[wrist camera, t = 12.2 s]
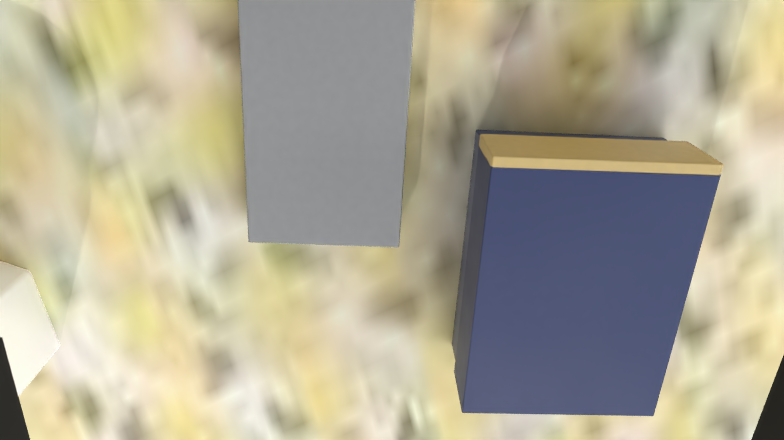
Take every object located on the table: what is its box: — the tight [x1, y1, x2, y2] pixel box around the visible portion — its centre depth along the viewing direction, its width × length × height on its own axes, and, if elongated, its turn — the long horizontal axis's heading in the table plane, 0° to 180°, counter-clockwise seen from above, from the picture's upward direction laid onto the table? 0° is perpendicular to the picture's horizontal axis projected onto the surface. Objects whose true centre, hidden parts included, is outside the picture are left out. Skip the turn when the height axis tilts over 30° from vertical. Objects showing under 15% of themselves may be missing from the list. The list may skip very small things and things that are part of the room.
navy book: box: [454, 134, 723, 416], centre depth 28 cm, size 12×9×3 cm
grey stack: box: [238, 0, 415, 247], centre depth 28 cm, size 12×7×5 cm, turn 177°
